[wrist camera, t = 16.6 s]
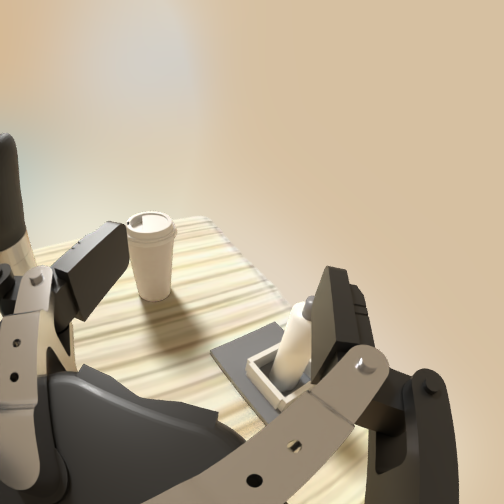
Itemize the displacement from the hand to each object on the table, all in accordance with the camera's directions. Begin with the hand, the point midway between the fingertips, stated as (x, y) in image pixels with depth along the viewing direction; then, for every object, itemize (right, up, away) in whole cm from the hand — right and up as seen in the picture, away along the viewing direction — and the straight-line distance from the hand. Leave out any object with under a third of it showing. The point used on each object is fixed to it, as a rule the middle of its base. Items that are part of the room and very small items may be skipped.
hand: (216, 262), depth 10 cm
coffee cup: (-18, -7, +41) cm, 45 cm away
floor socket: (+6, -19, +27) cm, 34 cm away
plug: (+6, -18, +27) cm, 33 cm away
